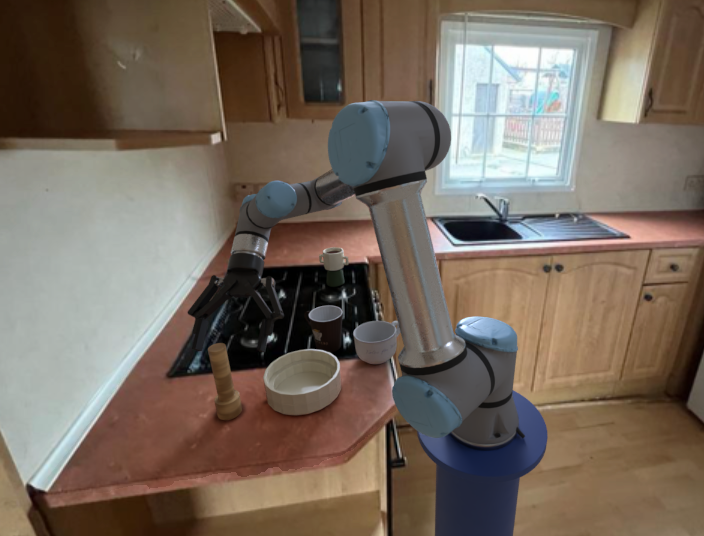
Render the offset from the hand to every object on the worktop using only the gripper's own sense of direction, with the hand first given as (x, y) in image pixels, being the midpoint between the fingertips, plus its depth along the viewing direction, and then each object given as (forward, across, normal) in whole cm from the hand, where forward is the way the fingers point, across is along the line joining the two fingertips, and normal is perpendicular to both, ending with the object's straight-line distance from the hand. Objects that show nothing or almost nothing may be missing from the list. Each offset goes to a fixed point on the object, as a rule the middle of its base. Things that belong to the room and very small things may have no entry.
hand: (228, 350), depth 86 cm
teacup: (-3, -30, -21) cm, 37 cm away
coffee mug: (-7, -14, -25) cm, 29 cm away
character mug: (-34, -9, -52) cm, 62 cm away
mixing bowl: (+7, -14, -11) cm, 19 cm away
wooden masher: (+12, 0, -6) cm, 13 cm away
